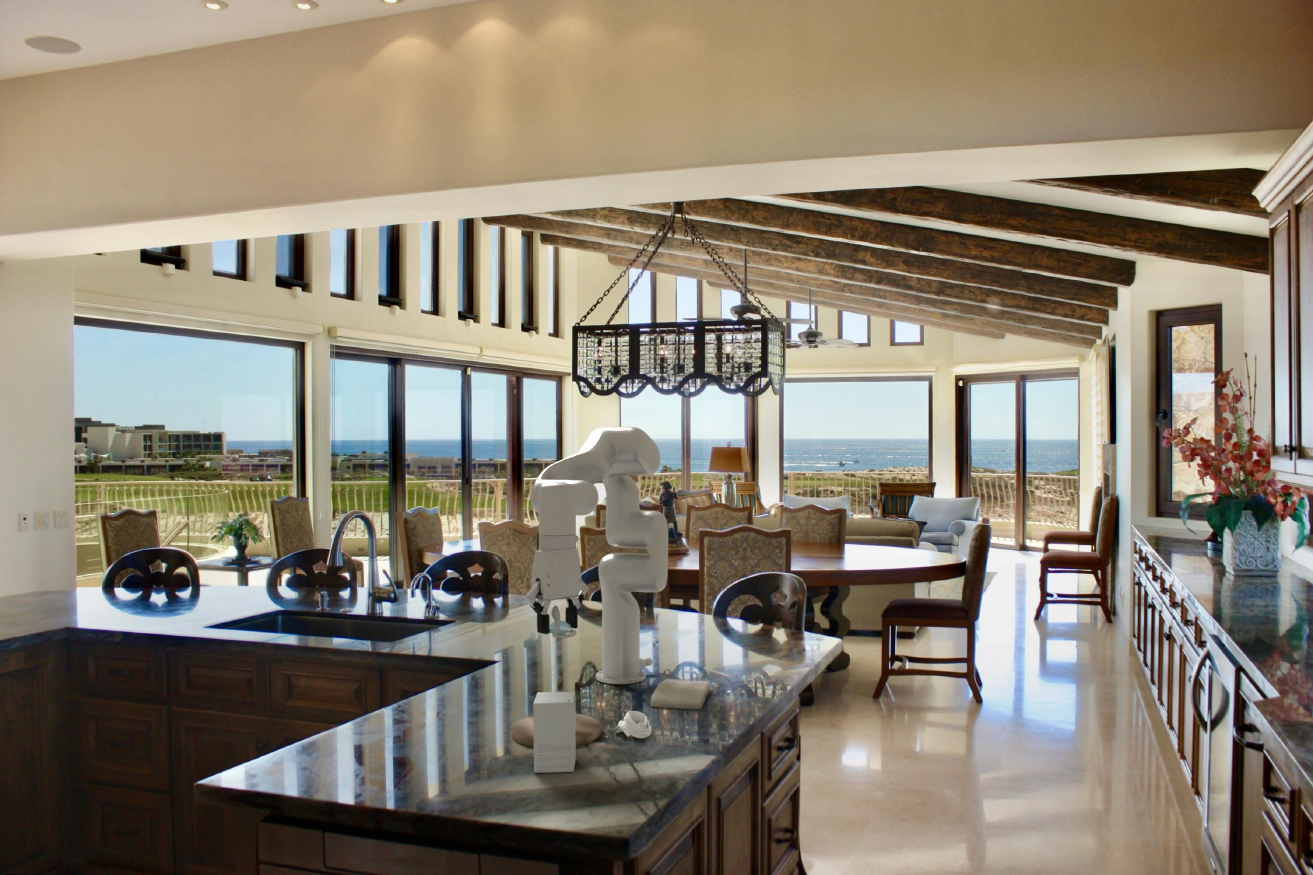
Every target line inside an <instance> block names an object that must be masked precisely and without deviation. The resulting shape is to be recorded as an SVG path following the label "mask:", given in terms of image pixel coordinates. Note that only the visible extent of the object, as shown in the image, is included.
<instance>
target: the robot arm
mask: <svg viewBox="0 0 1313 875" xmlns="http://www.w3.org/2000/svg"><path fill="white" fill-rule="evenodd" d="M660 464H661V454H660V450H659V447H658V445H657V444H656V442H655V441H654V440H653V439H652V438H651V436H649V434H648V433H647V432H645V431H644V430H643V429H641V428H639V427H635V426H634V427H633V426H612V427H611V426H605V427H598V428H596V429H594V430H592V432H591V433H590V434H589V435H588V437H587V438H586V440H585V441H584V443H583V444H582V445H581V446H580V449H578V451H577V453H575V454H572V455H570V456H568V457H566V458H564V459H561V460H559V461H557V462H554V463H552V464H550V465H549V466H547V467H545V469H543V471H541V473H540V475H539V476H538V477H537V479H536V480H535V482H534V483H533V485H532V487H531V491H530V504H531V507H532V509H533V510H534V512H536V513H538V550H535V553H534V556H533V557H534V558H533V563H532V568H531V569H532V571H531V586H530V589H529V590H528V592H526V594H525V596H524V600H525V601H526V602H527V604H529V606H530V607H531V609H532V610H533V613H535V614H536V631H537V633H538V634H543V635H549V634H551V633H550V625H551V624H550V623H551V621H550V619H551V618H550V614H549V613H548V611H549V608H550V605H551V603H552V601H558V600H565V602H566V604H567V606H566V607H565V612H564V613H565V619H564V620H565V621H564V622H567V623H568V624H570V625H571V629H573V630H574V629H575V630H576V629H578V627H579V624H578V623H579V622H578V621H579V618H578V617H579V612H578V611H579V609H580V608H581V604H582V602H583V600H584V599H585V597H586V594H587V593H588V591H589V589H590V588H589V586H588V585H587V584H586V583H585V582H584V581H583V580H582V568H581V562H580V561H581V559H580V554H579V549H578V548H577V543H578V542H579V539H580V538H579V536H578V535H577V516H587V515H590V514H591V513H594V511H595V509H596V508H597V506H598V504H599V492H598V489H597V486H595V485H596V484H599V483H601V482H602V483H603V486H604V489H605V495H606V496H605V537H606V538H605V539H606V541H607V544H608V545H610V546H611V547H615V548H616V547H617V548H624V549H625V548H626V549H627V548H628V549H629V548H630V549H646V550H647V553H632V552H613V553H608V554H606V555H605V556H603V557H602V558H601V559H600V561H599V563H598V580H599V584H600V592H601V612H602V613H601V616H602V618H601V628H602V629H601V633H602V634H601V646H602V647H601V652H602V653H601V670H599V671H598V672H595V679H596V680H597V681H599V682H601V683H603V684H608V685H609V684H610V685H628V684H629V685H630V684H637V683H640V682H643V681H644V680H646V678H647V674H646V671H643V669H644V668H645V667H650V666H652V665H653V663H654V662H653V659H652V658H651V657H648V658H644V659H643V658H641V657H640V654H641V653H640V652H641V649H640V645H641V644H640V639H641V638H640V633H641V632H640V626H641V625H640V622H641V620H640V619H641V618H640V615H641V612H640V606H639V604H638V603H639V602H638V601H637V600H636V598H635V597H634V595H633V594H632V593H634V592H635V593H637V592H638V593H640V592H641V593H659V592H662V591H663V590H664V589H665V588H666V586H667V583H668V577H669V576H668V573H669V572H668V570H669V525H668V521H667V518H666V517H665V515H664V513H662V512H660V511H656V510H641V509H640V490H639V487H638V485H637V483H636V482H635V480H634V479H633V478H632V477H631V476H641V477H642V476H644V477H645V476H652V475H655V473H657V471H658V470H659V467H660Z"/></svg>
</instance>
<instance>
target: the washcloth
mask: <svg viewBox="0 0 1313 875" xmlns="http://www.w3.org/2000/svg"><path fill="white" fill-rule="evenodd" d="M710 687H711V683H710V682H709V681H707V680H697V681H696V680H684V679H680V678H677V679H669V678H667V679H663V681H661V682H658V684H657V686H656V688H654V690H653V692H652V694H651V696H650V707H652V708H665V709H667V708H669V709H679V710H680V709H682V710H684V709H686V710H702V707H703V706H704V703H705V701H706V698H707V696H708V694H709V692H710V690H711V689H710Z"/></svg>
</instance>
